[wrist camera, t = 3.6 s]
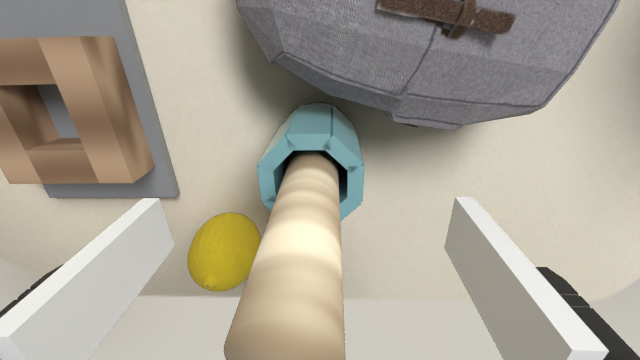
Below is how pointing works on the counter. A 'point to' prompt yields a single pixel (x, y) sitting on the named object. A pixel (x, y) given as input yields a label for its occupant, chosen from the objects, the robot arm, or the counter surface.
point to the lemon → (223, 251)
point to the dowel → (296, 272)
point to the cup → (315, 134)
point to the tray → (113, 20)
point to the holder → (83, 106)
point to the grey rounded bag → (431, 52)
